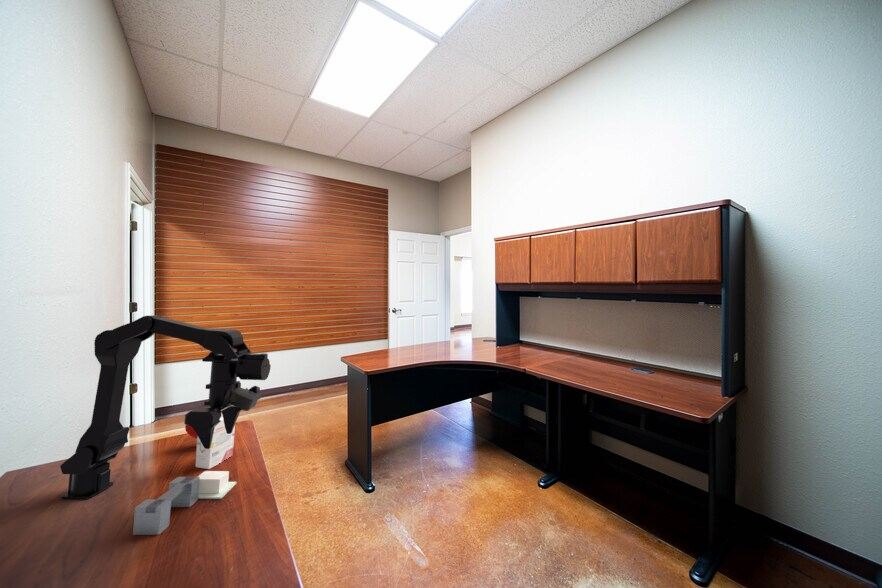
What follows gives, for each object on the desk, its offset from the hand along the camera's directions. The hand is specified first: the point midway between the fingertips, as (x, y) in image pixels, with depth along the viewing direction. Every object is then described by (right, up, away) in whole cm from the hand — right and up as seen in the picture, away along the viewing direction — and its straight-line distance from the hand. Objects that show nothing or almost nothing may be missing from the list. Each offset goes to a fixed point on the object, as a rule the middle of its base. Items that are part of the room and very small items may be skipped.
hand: (218, 440), depth 83 cm
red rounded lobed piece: (-21, -13, +23) cm, 34 cm away
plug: (-3, -12, -1) cm, 12 cm away
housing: (-3, -12, -11) cm, 16 cm away
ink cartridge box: (-11, -13, +14) cm, 22 cm away
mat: (-1, -13, -1) cm, 12 cm away
